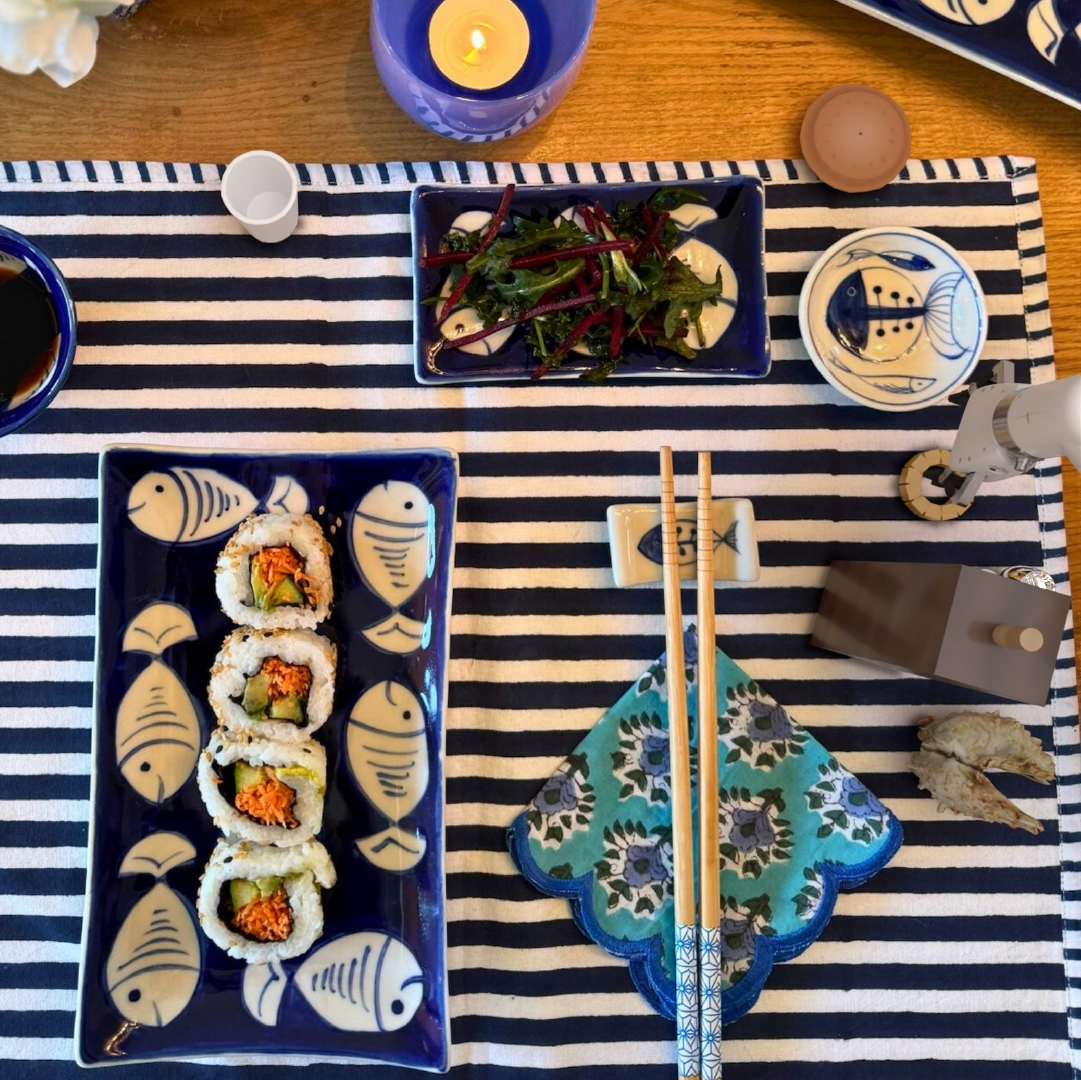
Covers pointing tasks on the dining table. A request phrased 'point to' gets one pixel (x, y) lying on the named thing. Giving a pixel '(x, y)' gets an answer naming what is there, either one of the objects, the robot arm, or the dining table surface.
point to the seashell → (978, 764)
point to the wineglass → (1028, 576)
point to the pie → (855, 138)
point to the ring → (913, 490)
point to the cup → (262, 195)
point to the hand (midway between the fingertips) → (946, 440)
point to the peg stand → (945, 625)
